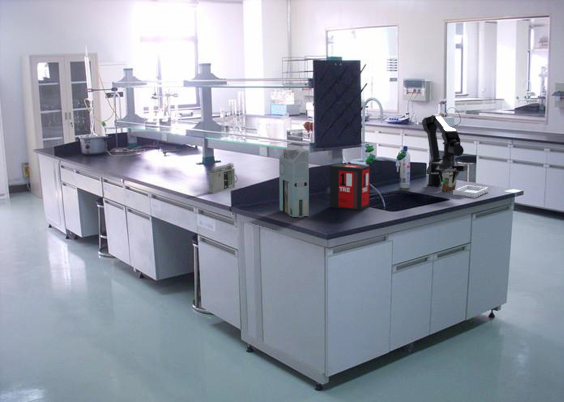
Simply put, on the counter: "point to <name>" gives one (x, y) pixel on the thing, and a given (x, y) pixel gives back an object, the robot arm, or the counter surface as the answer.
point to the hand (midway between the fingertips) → (447, 182)
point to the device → (294, 181)
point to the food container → (448, 181)
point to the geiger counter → (222, 178)
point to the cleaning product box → (349, 186)
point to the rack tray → (470, 191)
